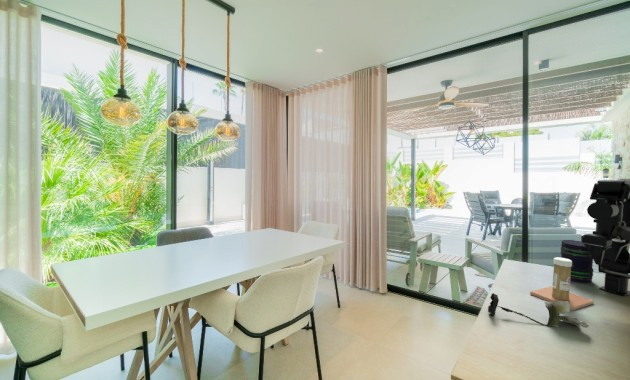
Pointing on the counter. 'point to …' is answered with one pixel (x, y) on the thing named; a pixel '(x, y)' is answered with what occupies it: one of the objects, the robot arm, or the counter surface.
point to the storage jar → (578, 261)
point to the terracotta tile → (574, 300)
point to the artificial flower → (553, 308)
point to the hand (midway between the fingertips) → (605, 263)
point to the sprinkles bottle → (561, 278)
